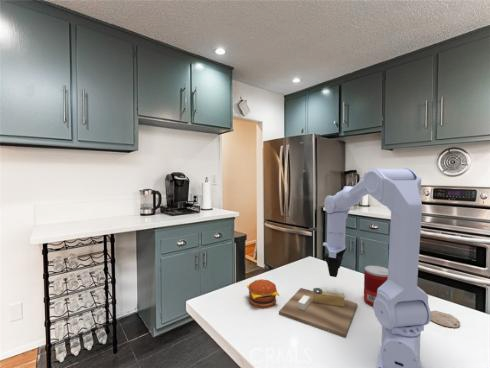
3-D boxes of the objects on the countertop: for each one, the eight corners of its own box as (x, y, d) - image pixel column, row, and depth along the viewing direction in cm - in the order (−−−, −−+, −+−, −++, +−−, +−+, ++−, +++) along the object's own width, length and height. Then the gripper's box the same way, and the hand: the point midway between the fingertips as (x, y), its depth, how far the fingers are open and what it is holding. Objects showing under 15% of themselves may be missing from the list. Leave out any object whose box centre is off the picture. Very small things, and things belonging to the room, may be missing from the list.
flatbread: (455, 332, 66) (455, 328, 66) (422, 319, 73) (422, 315, 73) (464, 321, 71) (464, 318, 71) (432, 310, 77) (432, 306, 77)
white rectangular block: (304, 310, 75) (304, 303, 75) (298, 308, 76) (298, 301, 76) (309, 303, 79) (309, 296, 79) (303, 301, 80) (303, 295, 80)
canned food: (395, 310, 77) (396, 275, 76) (367, 307, 78) (368, 273, 78) (386, 298, 84) (387, 266, 84) (361, 295, 86) (361, 264, 85)
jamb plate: (345, 337, 64) (345, 333, 64) (278, 314, 75) (278, 311, 75) (357, 306, 79) (357, 303, 79) (300, 290, 90) (300, 287, 90)
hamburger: (281, 306, 79) (281, 286, 79) (252, 311, 77) (252, 290, 76) (270, 292, 88) (270, 274, 88) (244, 296, 86) (244, 277, 86)
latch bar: (312, 302, 79) (312, 291, 79) (313, 297, 82) (313, 287, 82) (344, 307, 76) (344, 296, 76) (343, 302, 79) (344, 291, 79)
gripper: (327, 225, 90) (326, 262, 91) (319, 235, 77) (318, 277, 78) (348, 228, 87) (347, 265, 88) (343, 238, 74) (341, 282, 75)
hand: (334, 271), depth 83 cm, fingers open, 7 cm apart
